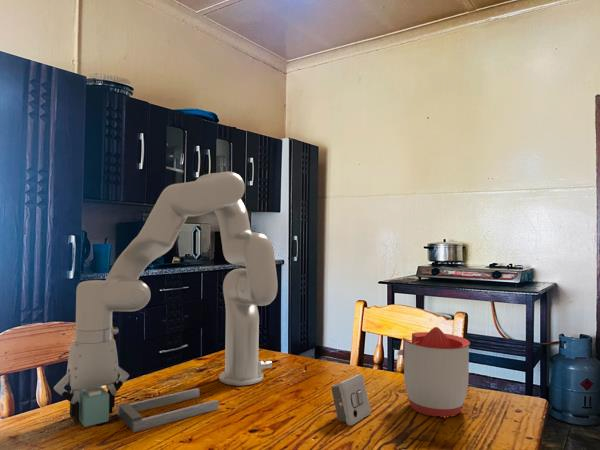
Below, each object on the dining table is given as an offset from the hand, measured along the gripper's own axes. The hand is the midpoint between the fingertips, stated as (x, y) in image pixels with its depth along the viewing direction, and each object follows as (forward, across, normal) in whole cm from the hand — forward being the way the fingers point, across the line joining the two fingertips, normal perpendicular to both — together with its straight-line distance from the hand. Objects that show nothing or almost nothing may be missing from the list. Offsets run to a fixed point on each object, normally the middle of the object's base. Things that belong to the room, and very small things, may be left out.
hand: (92, 414), depth 101 cm
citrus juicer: (+1, -67, +43) cm, 80 cm away
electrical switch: (+1, -47, +35) cm, 59 cm away
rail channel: (+1, -15, +7) cm, 17 cm away
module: (+1, 0, 0) cm, 1 cm away
